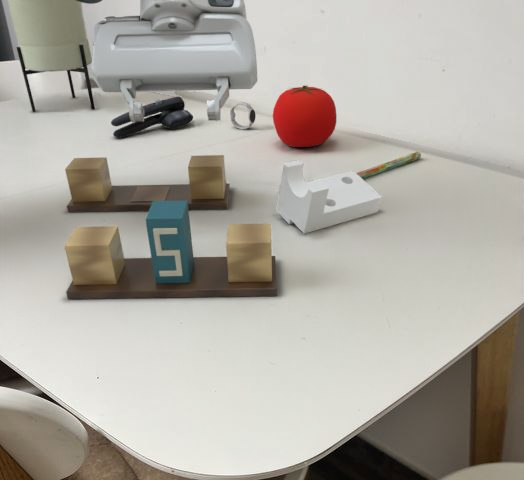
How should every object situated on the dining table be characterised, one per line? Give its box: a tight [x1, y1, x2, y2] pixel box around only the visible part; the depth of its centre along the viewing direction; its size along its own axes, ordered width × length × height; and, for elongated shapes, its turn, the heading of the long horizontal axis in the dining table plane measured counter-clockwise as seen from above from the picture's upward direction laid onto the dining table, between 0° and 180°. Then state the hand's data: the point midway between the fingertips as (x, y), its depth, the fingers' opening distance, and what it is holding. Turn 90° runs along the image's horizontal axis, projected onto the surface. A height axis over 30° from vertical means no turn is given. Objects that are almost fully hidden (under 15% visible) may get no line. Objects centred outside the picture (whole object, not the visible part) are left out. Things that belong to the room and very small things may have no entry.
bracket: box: [275, 159, 383, 234], centre depth 80 cm, size 13×7×8 cm, turn 121°
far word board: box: [64, 154, 231, 213], centre depth 87 cm, size 24×8×6 cm, turn 90°
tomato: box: [272, 84, 337, 148], centre depth 106 cm, size 12×12×10 cm
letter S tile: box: [145, 200, 195, 284], centre depth 65 cm, size 4×5×8 cm
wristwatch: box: [229, 101, 256, 130], centre depth 117 cm, size 3×5×5 cm, turn 64°
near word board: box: [63, 223, 277, 300], centre depth 67 cm, size 24×8×6 cm, turn 90°
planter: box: [6, 0, 96, 113], centre depth 130 cm, size 15×16×23 cm
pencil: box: [355, 151, 422, 180], centre depth 96 cm, size 1×1×18 cm
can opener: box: [110, 96, 194, 139], centre depth 117 cm, size 18×7×6 cm, turn 127°
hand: (175, 119), depth 69 cm, fingers open, 8 cm apart
